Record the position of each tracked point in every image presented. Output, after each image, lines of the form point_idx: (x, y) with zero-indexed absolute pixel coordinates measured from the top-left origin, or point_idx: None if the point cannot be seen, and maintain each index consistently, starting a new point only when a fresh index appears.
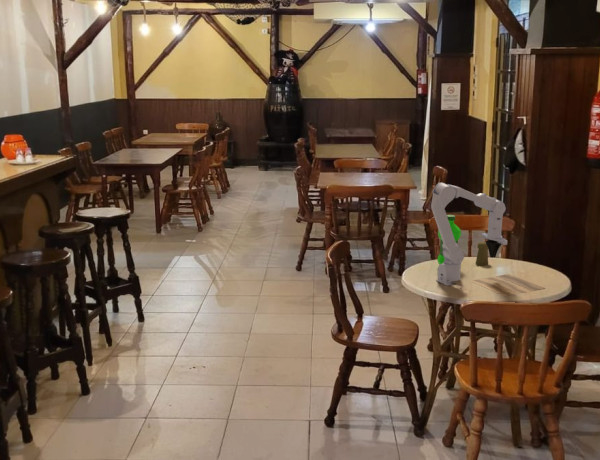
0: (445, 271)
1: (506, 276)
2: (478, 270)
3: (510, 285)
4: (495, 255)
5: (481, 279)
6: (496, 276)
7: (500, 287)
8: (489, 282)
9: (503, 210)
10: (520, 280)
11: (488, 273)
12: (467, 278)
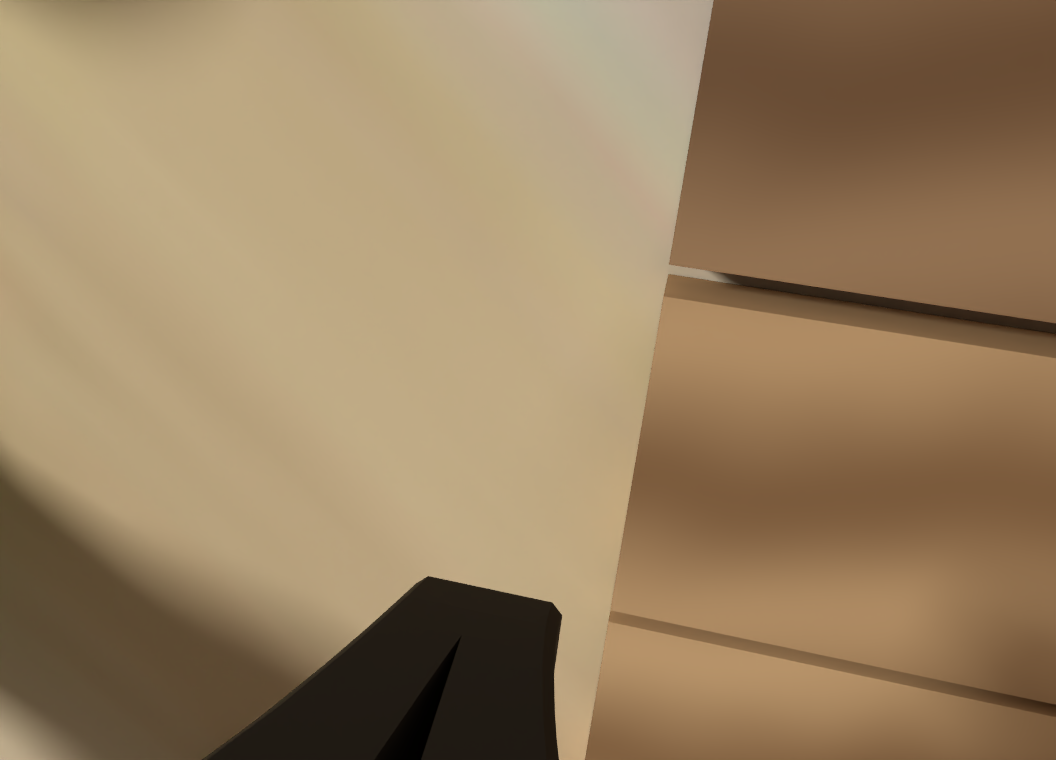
0: None
1: (857, 51)
2: (5, 36)
3: None
4: (550, 678)
5: (634, 667)
6: (678, 263)
7: None
8: (867, 708)
9: None
10: None
11: (257, 13)
12: (335, 604)
